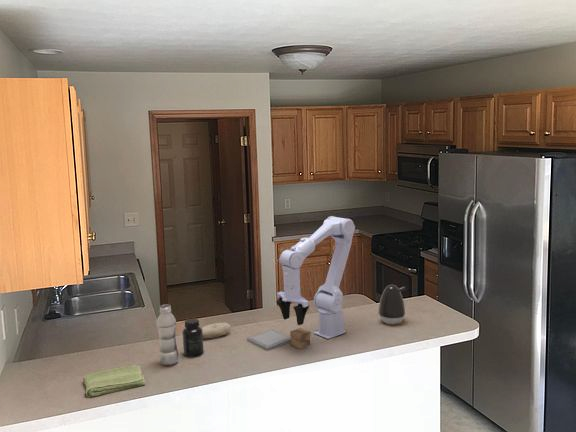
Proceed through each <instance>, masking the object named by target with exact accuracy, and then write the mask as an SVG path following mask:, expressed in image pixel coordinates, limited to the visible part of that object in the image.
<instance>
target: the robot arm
mask: <svg viewBox="0 0 576 432" xmlns="http://www.w3.org/2000/svg"><path fill="white" fill-rule="evenodd" d="M355 230H356V226H355V224H354V221H353V220H352V219H350V218H343V217H338V216H334V215H330V216H328V217H327V218H326V219H325V220H324V221H323V223H322V225H321V226H320V227H319V228H318V229H317V230H316V231H314V232H313V234H311V235H310V236H309V237H301V238H300V239H299V241H298V242H297V243H296V244H295V245H292V246H291V248H289V249H284V251H282V253H280V255H279V259H278V262H279V264H280V265H281V270H282V275H283V291H278V292H276V293H277V295H276V298H277V300H276V304H277V305H278V307H279V309H280V312H281V316H282V318H283V320H284V321H285V320H288V319H290V315H291V314H290V312H291V310H290V309H291V304H292V303H294V304H297V305H296V306H293V310H294V313H295V316H296V317H295V318H296V324H297V326H302V325H304V323H305V322H304V321H305V318H306V314H307V312H308V310H309V308H310V304H309V300H307V299H306V298H305V297H303V296H302V294H301V276H300V273H301V272H300V271H301V270H300V268H301V267H302V265H303V263H304V260H305V259H306V258H307V257H308V256H309V255H310V254H312V253H313V252H314V251H315V249H316V245H318V244H320V243H321V242H322V241H324V240H325V239H327V238H328V237H329V236H331V238H333V239H334V241H335V243H336V244H335V247H334V251H333V254H332V256H331V257H332V258H331V261H330V265H329V268H328V272H327V275H326V279H325V281H324V284H322V285H320V286H319V287H318V290H317V292H316V293H315V294H314V296H313V305H314V306H315V307H316V310H317V311H318V330H316V331H314V332H313V334H315V335H317V336H319V337H322V338H324V339H327V340H329V339H332V338H335V337H338V336H340V335H342V334H346V332H347V331H346V330H345V314H344V312H343V310H342V307H343V297H344V293H343V292H342V290H341V289H340V285H341V282H342V280H343V279H342V278H343V275H344V272H345V269H346V264H347V261H348V257H349V255H350V254H349V253H350V251H351V247H352V243H353V242H352V241H353V237H354V234H355Z"/></svg>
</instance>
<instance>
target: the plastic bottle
mask: <svg viewBox="0 0 576 432" xmlns="http://www.w3.org/2000/svg"><path fill="white" fill-rule="evenodd" d="M155 322H156V326H157V332H158V338H159V352H158V358H159V363H160V364H162V365H163V366H172V365H174V364H176V363H178V361H179V357H180V356H179V355H180V354H179V350H178V346H177V339H176V338H177V337H176V328H177V325H176V324H177V320H176V317H175V316H174V314H173V313H172V307H171V304H167V303H166V304H161V305H160V306H159V315H158V317H157V319H156V321H155Z"/></svg>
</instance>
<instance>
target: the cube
mask: <svg viewBox="0 0 576 432" xmlns="http://www.w3.org/2000/svg"><path fill="white" fill-rule="evenodd" d="M289 335H290V336H289V337H290V339H291V342H290V345H291V346H292V347H296V348H298V349H303V348H305V347H307V346H310V345H311V331H310V330H307V329H306V328H302V327H298V328H296V329H293V330H290V333H289Z"/></svg>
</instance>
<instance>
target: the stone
mask: <svg viewBox="0 0 576 432" xmlns="http://www.w3.org/2000/svg"><path fill="white" fill-rule="evenodd" d="M201 328H202V332H203V339H214V338H218V337H221V336H225V335H226V334H228V333H229V332H230V331H231V328H232V326H231V325H230V324H229V323H227V322H216V323H211V324H207V325H205V326H202V327H201Z"/></svg>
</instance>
